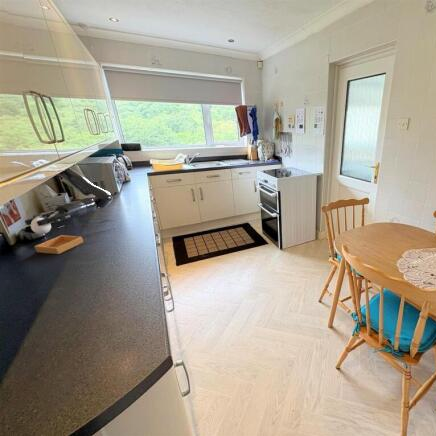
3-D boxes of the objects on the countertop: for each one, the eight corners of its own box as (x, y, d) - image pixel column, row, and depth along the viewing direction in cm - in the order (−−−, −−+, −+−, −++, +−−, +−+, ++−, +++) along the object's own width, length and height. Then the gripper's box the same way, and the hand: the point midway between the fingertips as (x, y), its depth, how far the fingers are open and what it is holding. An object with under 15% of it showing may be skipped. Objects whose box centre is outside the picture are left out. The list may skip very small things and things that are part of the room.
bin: (37, 252, 110) (34, 246, 109) (64, 241, 121) (61, 235, 120) (58, 254, 109) (55, 248, 107) (84, 242, 120) (81, 236, 118)
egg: (46, 236, 101) (39, 220, 98) (30, 236, 100) (22, 220, 97) (57, 230, 106) (50, 214, 104) (42, 231, 106) (35, 215, 103)
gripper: (57, 202, 114) (14, 214, 98) (82, 203, 112) (42, 216, 96) (63, 216, 117) (22, 230, 101) (87, 217, 114) (49, 232, 99)
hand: (32, 223), depth 99 cm, fingers closed on egg, 5 cm apart
